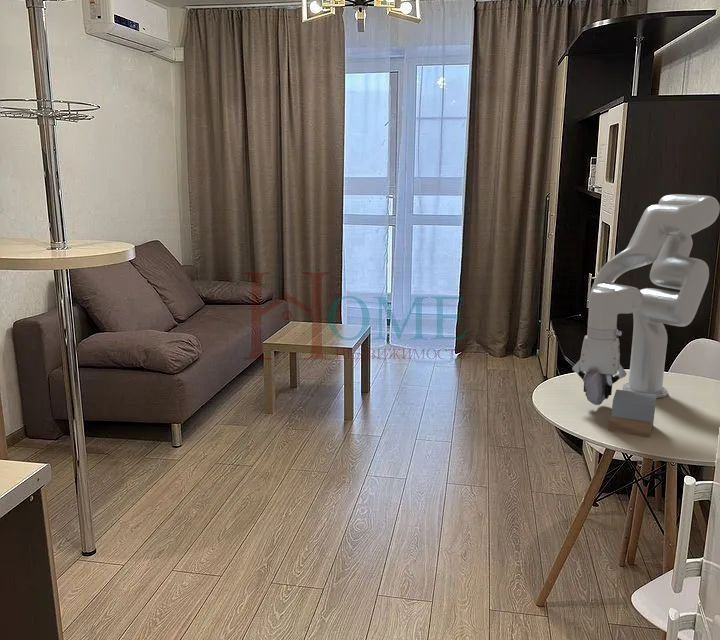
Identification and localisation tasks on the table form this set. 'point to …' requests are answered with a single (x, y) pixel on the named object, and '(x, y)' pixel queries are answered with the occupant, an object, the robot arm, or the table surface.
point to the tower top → (634, 405)
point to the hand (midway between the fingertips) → (597, 395)
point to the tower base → (630, 426)
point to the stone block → (595, 387)
